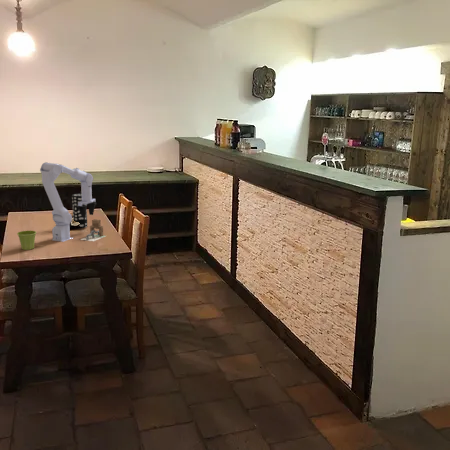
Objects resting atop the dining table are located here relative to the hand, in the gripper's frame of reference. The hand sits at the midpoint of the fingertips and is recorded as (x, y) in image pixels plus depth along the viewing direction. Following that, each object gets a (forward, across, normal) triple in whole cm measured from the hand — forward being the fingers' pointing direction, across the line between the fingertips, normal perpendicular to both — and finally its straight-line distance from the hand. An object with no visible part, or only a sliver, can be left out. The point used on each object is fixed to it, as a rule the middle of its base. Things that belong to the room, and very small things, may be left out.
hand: (87, 215), depth 304 cm
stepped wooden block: (+10, -6, -10) cm, 15 cm away
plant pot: (+11, -41, +9) cm, 43 cm away
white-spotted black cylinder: (+11, +12, +14) cm, 21 cm away
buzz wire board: (+10, -10, -10) cm, 17 cm away
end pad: (+10, -6, -10) cm, 15 cm away
